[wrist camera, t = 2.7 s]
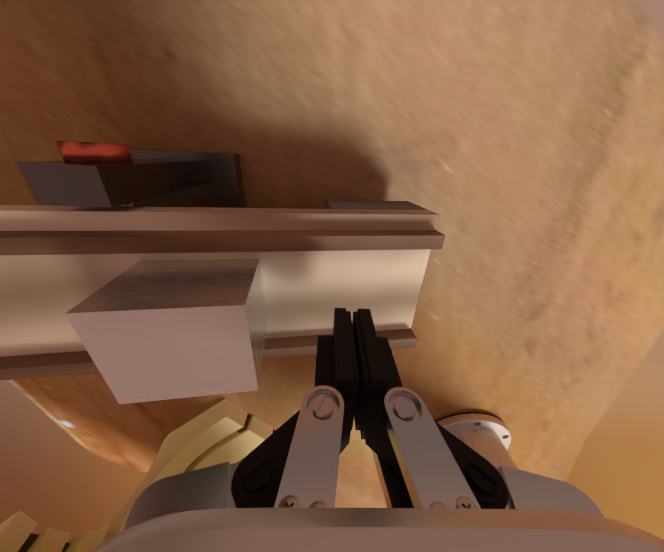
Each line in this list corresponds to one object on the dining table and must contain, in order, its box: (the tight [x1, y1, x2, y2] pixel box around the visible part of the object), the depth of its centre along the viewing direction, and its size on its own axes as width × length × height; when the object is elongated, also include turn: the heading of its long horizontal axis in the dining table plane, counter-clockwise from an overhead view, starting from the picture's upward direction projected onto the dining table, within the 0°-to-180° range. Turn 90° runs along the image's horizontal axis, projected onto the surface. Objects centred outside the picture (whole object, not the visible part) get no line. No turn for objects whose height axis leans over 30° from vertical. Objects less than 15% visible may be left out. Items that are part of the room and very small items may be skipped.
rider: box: [65, 259, 267, 404], centre depth 12 cm, size 5×6×4 cm
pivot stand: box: [17, 141, 245, 208], centre depth 16 cm, size 16×8×9 cm, turn 178°
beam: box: [0, 200, 445, 380], centre depth 14 cm, size 10×34×6 cm, turn 88°
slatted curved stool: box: [0, 398, 274, 552], centre depth 26 cm, size 30×16×18 cm, turn 39°
